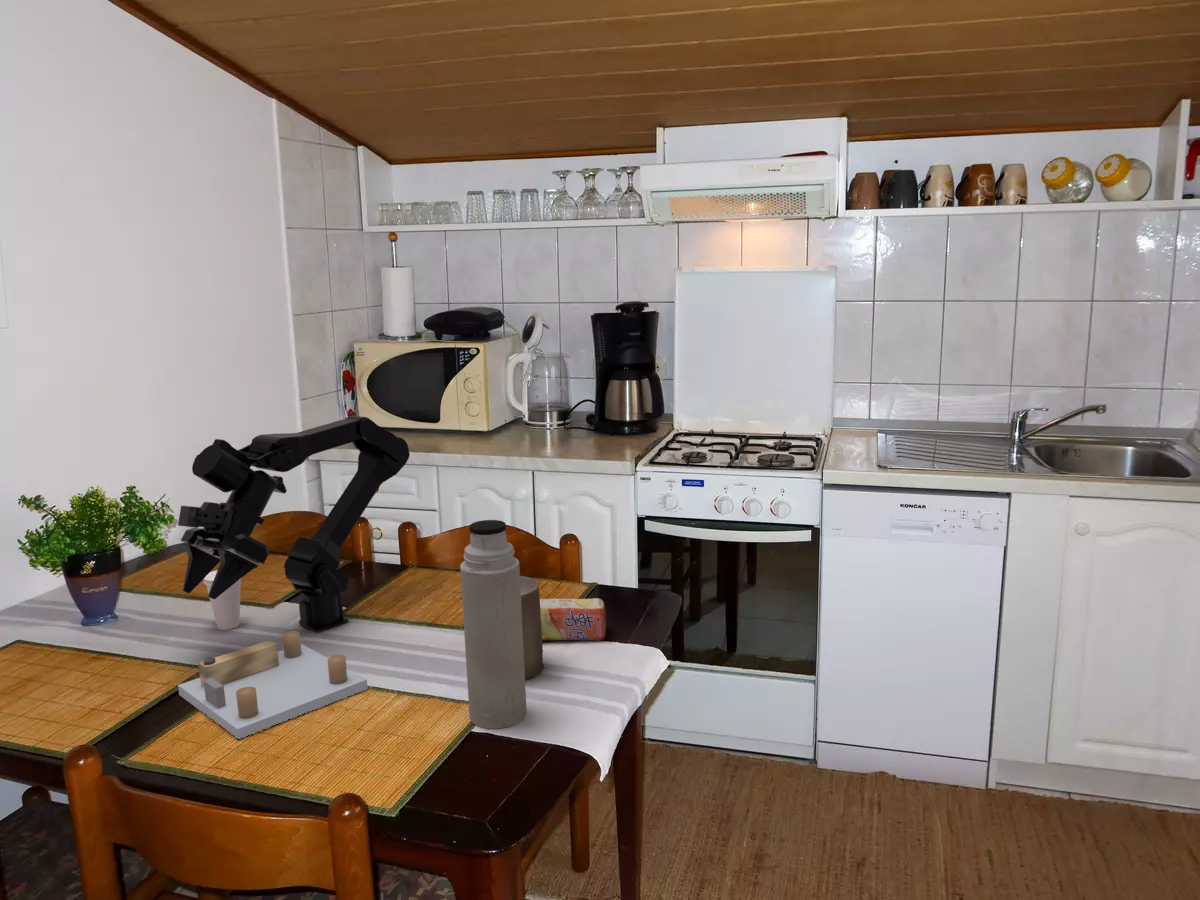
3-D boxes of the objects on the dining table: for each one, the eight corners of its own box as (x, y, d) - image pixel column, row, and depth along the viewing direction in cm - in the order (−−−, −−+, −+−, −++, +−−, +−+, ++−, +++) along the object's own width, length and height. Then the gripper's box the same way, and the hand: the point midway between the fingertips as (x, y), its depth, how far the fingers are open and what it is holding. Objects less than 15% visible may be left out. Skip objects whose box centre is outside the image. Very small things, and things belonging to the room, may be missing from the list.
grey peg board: (302, 652, 155) (299, 623, 154) (367, 689, 141) (364, 657, 140) (179, 695, 141) (175, 663, 140) (238, 740, 127) (234, 705, 126)
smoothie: (234, 634, 164) (225, 557, 161) (201, 632, 165) (192, 555, 162) (254, 620, 170) (246, 545, 167) (222, 618, 171) (214, 544, 168)
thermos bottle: (484, 698, 137) (474, 513, 131) (535, 705, 134) (526, 517, 129) (459, 724, 130) (446, 529, 124) (512, 732, 127) (502, 533, 121)
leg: (207, 689, 139) (204, 664, 138) (201, 684, 140) (197, 659, 139) (279, 665, 146) (276, 641, 146) (271, 660, 148) (269, 636, 147)
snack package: (606, 628, 162) (605, 591, 160) (605, 644, 155) (604, 605, 154) (483, 631, 162) (481, 593, 161) (477, 646, 156) (475, 608, 154)
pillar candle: (552, 658, 150) (547, 569, 147) (531, 685, 141) (525, 590, 138) (495, 654, 152) (489, 566, 149) (471, 680, 143) (464, 586, 140)
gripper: (177, 481, 153) (127, 568, 147) (229, 483, 140) (177, 579, 134) (235, 511, 160) (190, 596, 154) (289, 516, 147) (242, 609, 141)
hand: (198, 595), depth 146 cm, fingers open, 9 cm apart
